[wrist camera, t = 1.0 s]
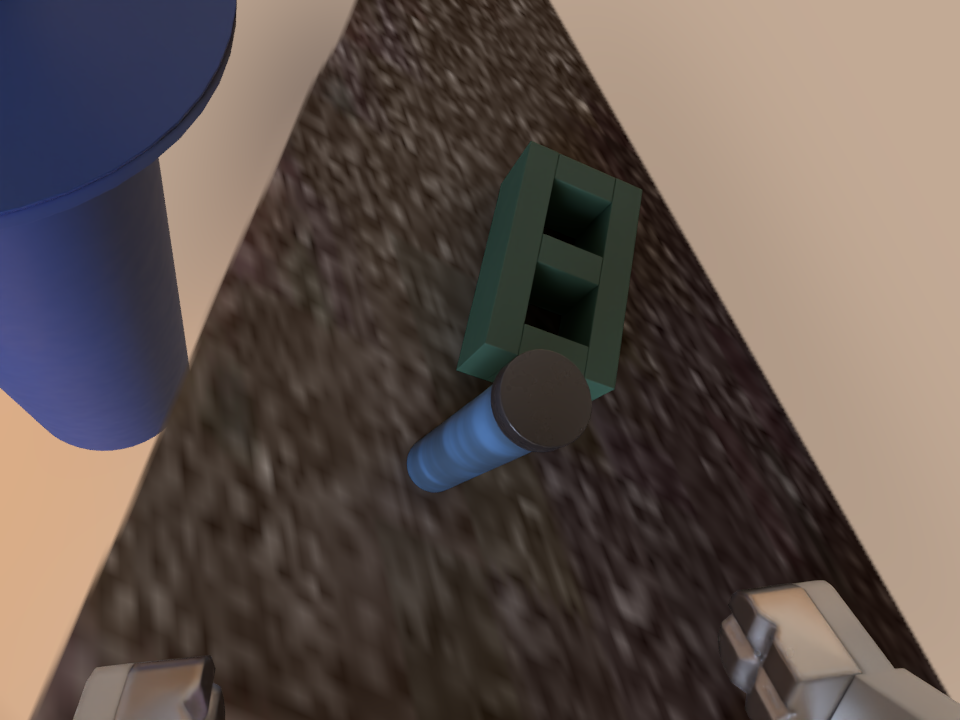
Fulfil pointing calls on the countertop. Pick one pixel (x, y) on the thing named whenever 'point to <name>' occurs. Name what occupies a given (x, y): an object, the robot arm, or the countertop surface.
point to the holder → (555, 268)
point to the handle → (505, 421)
